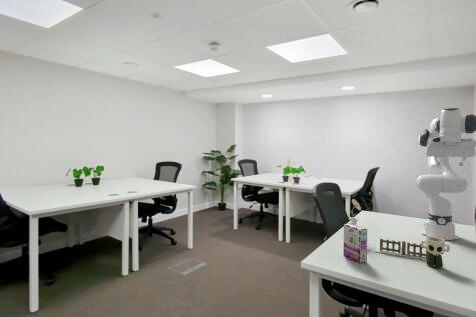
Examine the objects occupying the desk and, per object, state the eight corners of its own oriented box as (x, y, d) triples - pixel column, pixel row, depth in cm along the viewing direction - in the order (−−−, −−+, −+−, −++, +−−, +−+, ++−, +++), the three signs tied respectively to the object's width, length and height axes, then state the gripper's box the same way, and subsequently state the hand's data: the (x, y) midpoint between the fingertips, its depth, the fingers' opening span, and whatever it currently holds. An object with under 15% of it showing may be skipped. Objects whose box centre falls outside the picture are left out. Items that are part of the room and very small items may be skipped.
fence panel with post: (401, 254, 142) (402, 240, 141) (429, 258, 136) (429, 244, 136) (401, 255, 140) (402, 241, 140) (429, 259, 135) (429, 245, 134)
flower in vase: (365, 245, 154) (366, 202, 153) (343, 243, 158) (344, 200, 157) (362, 238, 166) (363, 198, 165) (342, 236, 170) (343, 197, 169)
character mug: (420, 266, 127) (421, 239, 126) (420, 261, 133) (420, 234, 132) (450, 272, 121) (450, 243, 120) (448, 266, 127) (449, 238, 126)
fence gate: (379, 249, 146) (380, 238, 146) (400, 252, 142) (400, 241, 142) (379, 250, 145) (379, 239, 145) (400, 253, 140) (400, 242, 140)
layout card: (376, 243, 158) (376, 242, 158) (427, 250, 146) (428, 250, 146) (375, 252, 144) (375, 251, 144) (432, 261, 133) (432, 260, 133)
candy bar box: (367, 262, 131) (368, 228, 131) (359, 263, 130) (360, 229, 129) (350, 253, 142) (350, 222, 141) (342, 255, 140) (343, 223, 140)
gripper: (474, 138, 138) (474, 165, 138) (426, 139, 148) (425, 164, 149) (477, 138, 132) (476, 166, 133) (426, 139, 143) (426, 165, 143)
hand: (449, 165), depth 141 cm, fingers open, 8 cm apart
